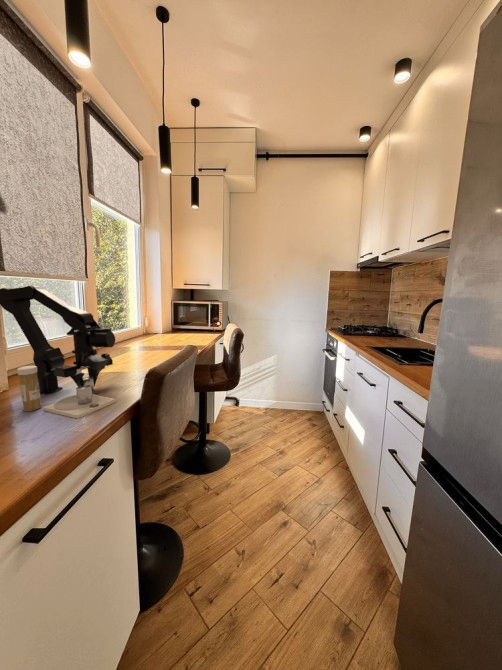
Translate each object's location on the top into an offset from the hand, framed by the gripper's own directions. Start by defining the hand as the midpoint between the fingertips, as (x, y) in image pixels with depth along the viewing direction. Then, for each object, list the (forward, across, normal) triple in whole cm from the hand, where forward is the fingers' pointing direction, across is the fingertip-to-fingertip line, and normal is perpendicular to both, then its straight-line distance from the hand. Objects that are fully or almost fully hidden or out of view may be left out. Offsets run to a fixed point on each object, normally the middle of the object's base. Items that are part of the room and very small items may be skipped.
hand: (87, 388), depth 96 cm
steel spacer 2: (0, -10, -12) cm, 16 cm away
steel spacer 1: (+1, 0, 0) cm, 1 cm away
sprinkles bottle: (+1, -17, +2) cm, 17 cm away
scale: (+1, -10, -10) cm, 14 cm away
